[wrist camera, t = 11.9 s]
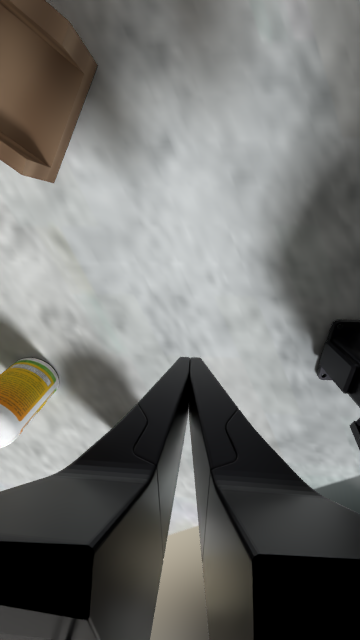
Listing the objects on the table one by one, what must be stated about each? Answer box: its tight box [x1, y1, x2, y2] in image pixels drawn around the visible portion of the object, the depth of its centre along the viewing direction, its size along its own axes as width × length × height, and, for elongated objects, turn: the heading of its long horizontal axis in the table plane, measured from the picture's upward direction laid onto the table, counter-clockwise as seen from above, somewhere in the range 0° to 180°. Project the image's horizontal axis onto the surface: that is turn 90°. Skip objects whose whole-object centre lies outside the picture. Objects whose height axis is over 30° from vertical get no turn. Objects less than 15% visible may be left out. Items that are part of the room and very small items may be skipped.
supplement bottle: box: [0, 358, 59, 448], centre depth 21 cm, size 5×5×10 cm
